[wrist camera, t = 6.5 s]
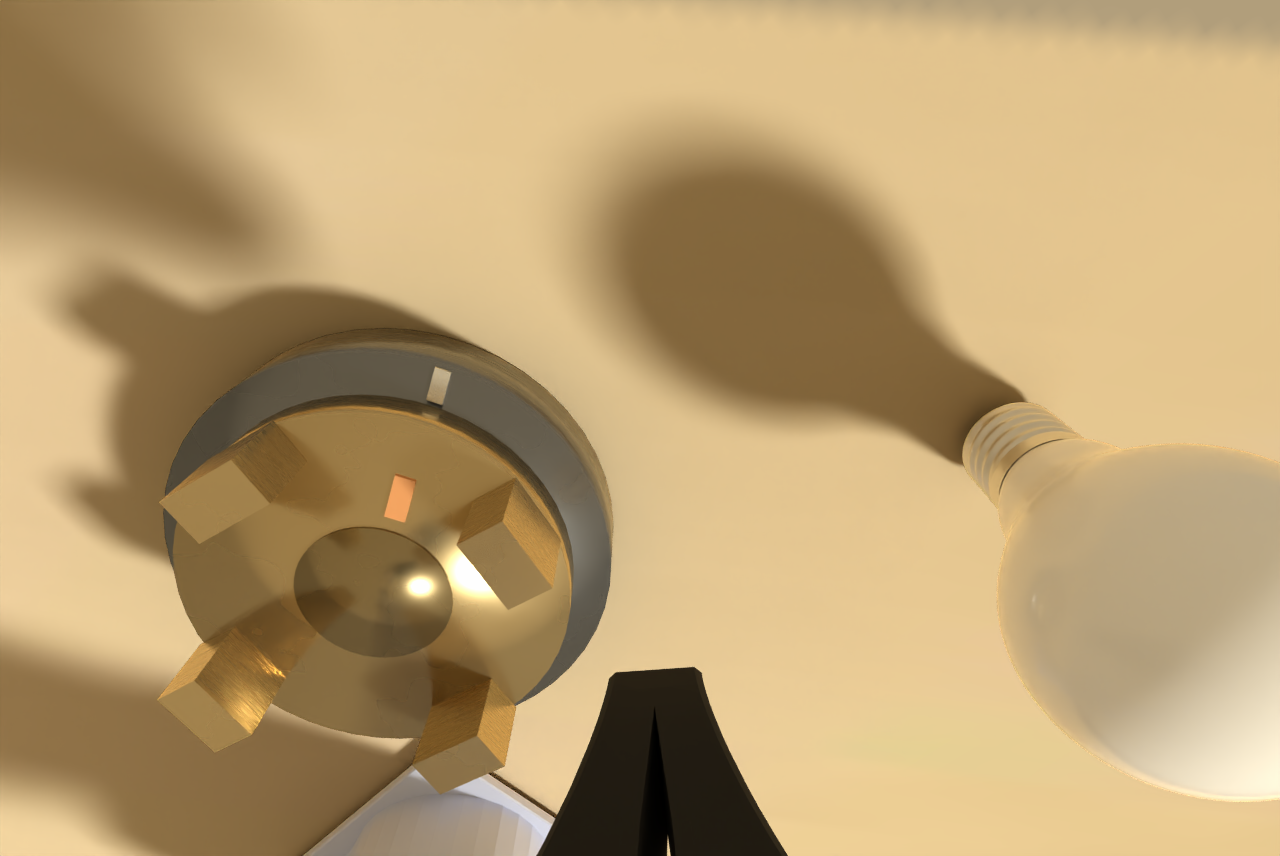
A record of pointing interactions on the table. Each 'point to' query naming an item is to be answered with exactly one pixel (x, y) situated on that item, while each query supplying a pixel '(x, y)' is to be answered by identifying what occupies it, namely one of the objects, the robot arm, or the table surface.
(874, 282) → the table surface
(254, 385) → the cap base
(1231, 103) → the table surface
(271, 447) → the brass lugged disc
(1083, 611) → the lightbulb
